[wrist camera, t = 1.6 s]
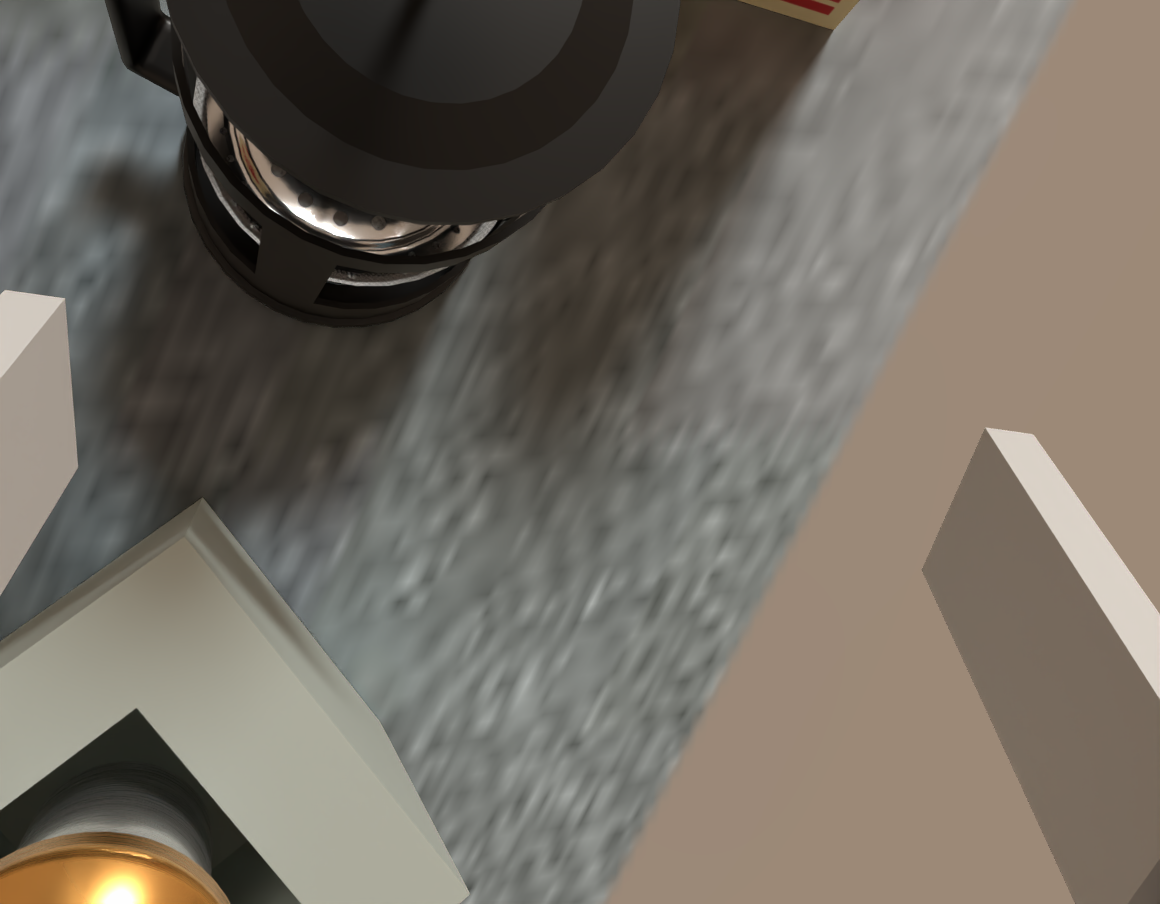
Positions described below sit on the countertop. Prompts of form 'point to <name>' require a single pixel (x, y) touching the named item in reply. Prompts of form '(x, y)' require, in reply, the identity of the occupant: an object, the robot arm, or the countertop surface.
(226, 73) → the french press
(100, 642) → the cabinet
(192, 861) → the gauge knob
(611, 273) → the countertop surface
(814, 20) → the milk carton
